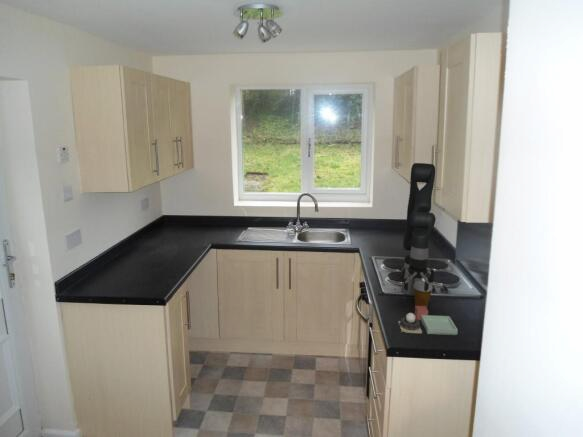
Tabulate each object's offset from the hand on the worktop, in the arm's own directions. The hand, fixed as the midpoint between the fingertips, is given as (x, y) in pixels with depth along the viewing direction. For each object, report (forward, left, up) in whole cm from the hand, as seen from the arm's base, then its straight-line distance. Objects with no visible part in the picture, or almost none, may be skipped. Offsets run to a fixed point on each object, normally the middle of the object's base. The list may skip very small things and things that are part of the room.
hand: (415, 290), depth 201 cm
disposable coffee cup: (-24, +10, -19) cm, 32 cm away
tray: (-2, +13, -19) cm, 23 cm away
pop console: (0, -1, -19) cm, 19 cm away
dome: (0, -1, -16) cm, 16 cm away
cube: (-11, +7, -19) cm, 23 cm away
